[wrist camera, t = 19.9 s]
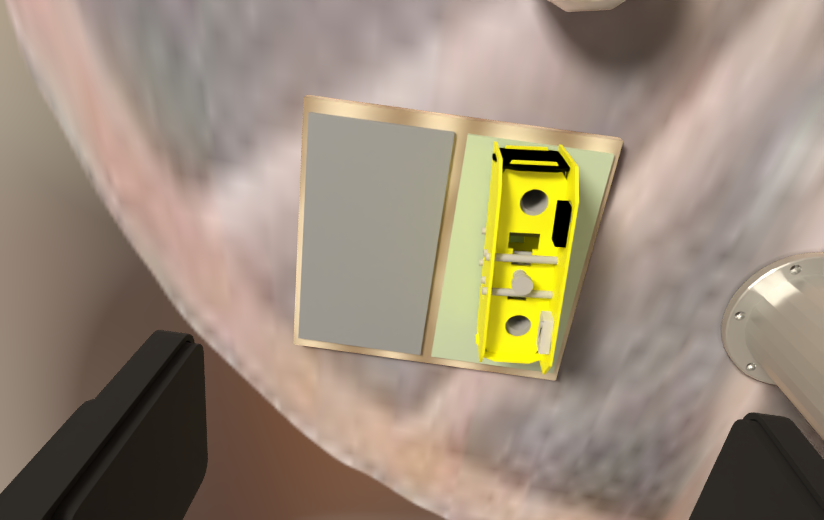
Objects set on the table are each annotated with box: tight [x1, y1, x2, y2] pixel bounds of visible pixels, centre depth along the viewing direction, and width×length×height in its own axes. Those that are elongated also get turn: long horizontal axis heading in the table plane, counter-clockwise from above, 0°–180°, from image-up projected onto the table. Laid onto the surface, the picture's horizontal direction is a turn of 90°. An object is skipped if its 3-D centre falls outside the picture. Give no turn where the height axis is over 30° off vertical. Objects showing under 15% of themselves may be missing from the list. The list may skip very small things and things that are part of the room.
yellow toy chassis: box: [475, 141, 579, 375], centre depth 42 cm, size 16×6×8 cm, turn 178°
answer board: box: [294, 95, 623, 381], centre depth 47 cm, size 24×22×2 cm
